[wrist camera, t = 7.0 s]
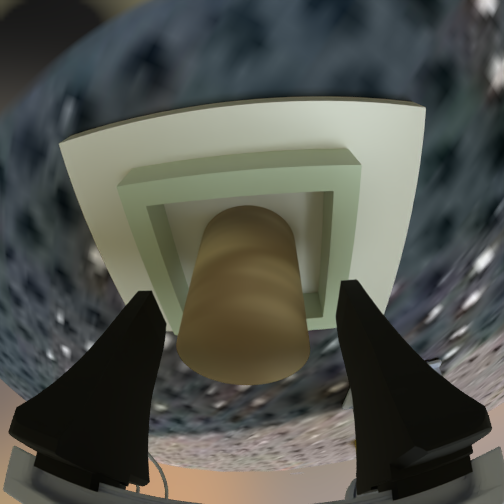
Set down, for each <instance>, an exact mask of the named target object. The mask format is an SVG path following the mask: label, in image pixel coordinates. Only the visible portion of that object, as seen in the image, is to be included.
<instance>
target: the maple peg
mask: <svg viewBox="0 0 504 504" xmlns="http://www.w3.org/2000/svg"><path fill="white" fill-rule="evenodd" d="M176 347H177V352H178V354H179V356H180V358H181V359H182V361H183V362H184V363H185V364H186V365H187V366H188V367H189V368H191V369H192V370H193V371H195V372H197V373H198V374H200V375H202V376H204V377H207V378H209V379H212V380H215V381H219V382H223V383H229V384H236V385H258V384H266V383H271V382H275V381H278V380H281V379H284V378H286V377H289V376H290V375H292V374H294V373H295V372H297V371H298V370H300V369H301V368H302V367H303V366H304V364H305V363H306V362H307V360H308V358H309V355H310V344H309V335H308V328H307V320H306V312H305V305H304V298H303V291H302V284H301V277H300V270H299V264H298V257H297V251H296V245H295V239H294V234H293V232H292V229H291V228H290V226H289V225H288V223H287V222H286V221H285V220H284V219H283V218H282V217H281V216H279V215H278V214H277V213H275V212H273V211H271V210H269V209H266V208H263V207H259V206H252V205H243V206H236V207H232V208H229V209H226V210H224V211H222V212H220V213H219V214H217V215H216V216H215V217H214V218H213V219H211V221H210V222H209V223H208V225H207V226H206V228H205V230H204V233H203V236H202V240H201V244H200V247H199V251H198V255H197V259H196V263H195V267H194V270H193V274H192V278H191V282H190V286H189V291H188V295H187V299H186V303H185V307H184V311H183V316H182V320H181V324H180V329H179V333H178V338H177V343H176Z"/></svg>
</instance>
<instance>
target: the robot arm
mask: <svg viewBox="0 0 504 504" xmlns="http://www.w3.org/2000/svg"><path fill="white" fill-rule="evenodd" d="M335 317H336V325H337V332H338V339H339V343H340V347H341V351H342V356H343V360H344V364H345V368H346V372H347V376H348V380H349V384H350V389H349V391H348V394H347V396H346V398H345V401H344V403H343V405H342V409H344V410H347V409H353V413H354V420H355V434H356V458H357V471H356V477H357V478H356V479H354V480H353V481H352V482H351V484H350V486H349V487H348V489H347V491H346V495H345V500H339V501H332V502H325V503H317V504H504V460H503V456H502V451H501V448H500V447H497V448H495V449H494V450H491V451H489V452H487V453H486V454H483V455H481V456H479V457H477V458H475V459H473V460H470V454H472V453H473V449H472V444H474V443H475V442H477V441H478V440H480V439H481V438H483V437H484V436H486V435H487V434H488V433H489V432H491V430H492V427H491V423H490V419H489V415H488V413H487V410H486V408H485V406H484V405H482V404H481V403H479V402H477V401H476V400H474V399H473V398H471V397H469V396H468V395H466V394H465V393H463V392H462V391H460V390H459V389H458V388H456V387H455V386H454V385H452V384H451V383H450V382H449V381H447V380H446V379H445V378H444V377H443V376H442V375H441V372H440V369H439V366H440V365H441V360H434V361H430V362H425V361H424V360H423V359H422V358H421V357H420V356H419V355H418V354H417V353H416V352H415V351H414V350H413V349H412V348H411V347H410V345H409V344H408V343H407V342H406V341H405V340H404V339H403V338H402V337H401V335H400V334H399V333H398V332H397V331H396V330H395V328H394V327H393V326H392V325H391V324H390V322H389V321H388V320H387V319H386V317H385V316H384V315H383V314H382V312H381V311H380V310H379V308H378V307H377V306H376V304H375V303H374V302H373V300H372V299H371V298H370V296H369V295H368V294H367V292H366V291H365V289H364V288H363V287H362V285H361V284H360V282H359V281H358V280H357V279H354V280H341V284H340V290H339V297H338V303H337V310H336V316H335ZM166 325H167V323H166V321H165V319H164V317H163V315H162V313H161V310H160V308H159V306H158V304H157V301H156V299H155V297H154V295H153V292H152V290H151V291H138V292H137V293H136V294H135V295H134V296H133V298H132V299H131V300H130V301H129V302H128V304H127V305H126V306H125V307H124V309H123V310H122V311H121V312H120V314H119V315H118V316H117V317H116V319H115V320H114V321H113V322H112V323H111V325H110V326H109V327H108V328H107V330H106V331H105V332H104V333H103V334H102V335H101V337H100V338H99V339H98V340H97V341H96V342H95V343H94V345H93V346H92V347H91V348H90V349H89V350H88V351H87V352H86V353H85V355H84V356H83V357H82V358H81V359H80V360H79V361H78V362H77V363H75V364H74V365H73V366H72V367H71V368H70V369H69V370H68V371H67V372H66V373H64V374H63V375H62V376H61V377H60V378H59V379H57V380H56V381H55V382H54V383H53V384H51V385H50V386H49V387H47V388H46V389H45V390H43V391H42V392H40V393H39V394H38V395H36V396H35V397H33V398H31V399H30V400H28V401H27V402H25V403H23V404H22V405H20V406H18V407H17V408H16V410H15V413H14V416H13V419H12V423H11V425H10V429H9V434H10V435H11V436H12V437H14V438H15V439H17V440H18V441H20V442H22V443H23V444H25V445H26V446H28V447H30V448H32V449H33V450H35V451H37V455H36V456H34V455H32V454H30V453H28V452H26V451H24V450H22V449H20V448H18V447H16V446H14V447H13V449H12V453H11V457H10V461H9V465H8V469H7V473H6V478H5V483H4V488H3V490H4V492H6V493H7V494H9V495H10V496H12V497H13V498H15V499H16V500H18V501H19V502H21V503H22V504H200V503H192V502H184V501H177V500H171V499H165V498H160V497H155V496H150V495H145V494H140V493H136V492H132V491H128V490H124V489H120V488H119V487H120V485H124V486H128V485H129V483H131V484H134V485H139V486H145V485H147V484H148V483H149V482H150V480H149V466H148V433H149V417H150V407H151V399H152V394H153V389H154V385H155V381H156V377H157V373H158V369H159V365H160V360H161V356H162V352H163V348H164V342H165V334H166Z"/></svg>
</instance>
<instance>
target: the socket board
mask: <svg viewBox="0 0 504 504" xmlns="http://www.w3.org/2000/svg"><path fill="white" fill-rule="evenodd" d="M425 113H426V107H423V106H421V105H419V104H417V103H414V102H409V101H400V100H390V99H378V98H362V97H332V96H309V97H279V98H263V99H250V100H239V101H230V102H221V103H213V104H206V105H199V106H193V107H187V108H181V109H175V110H170V111H164V112H159V113H154V114H150V115H145V116H141V117H136V118H132V119H128V120H124V121H120V122H116V123H112V124H108V125H105V126H101V127H98V128H94V129H91V130H87V131H84V132H81V133H78V134H75V135H72V136H70V137H68V138H67V139H65V140H64V141H62V142H61V143H59V146H60V149H61V152H62V156H63V159H64V162H65V165H66V168H67V171H68V174H69V177H70V180H71V183H72V186H73V188H74V191H75V194H76V197H77V199H78V202H79V204H80V207H81V210H82V212H83V215H84V217H85V220H86V222H87V224H88V227H89V229H90V232H91V234H92V236H93V239H94V241H95V243H96V245H97V248H98V250H99V252H100V254H101V257H102V259H103V261H104V263H105V265H106V267H107V269H108V271H109V273H110V275H111V277H112V280H113V282H114V284H115V286H116V287H117V289H118V291H119V293H120V295H121V297H122V299H123V301H124V303H125V305H127V304H128V302H129V301H130V300H131V299H132V298H133V296H134V295H135V294H136V293H137V292H138V291H151V290H152V292H153V295H154V297H155V299H156V301H157V304H158V306H159V308H160V310H161V313H162V315H163V317H164V319H165V321H166V323H167V325H166V331H173V333H174V335H178V333H179V329H180V324H181V320H182V316H183V311H184V307H185V303H186V299H187V295H188V291H189V286H190V282H191V278H192V274H193V270H194V267H195V263H196V259H197V255H198V251H199V247H200V244H201V240H202V236H203V233H204V230H205V228H206V226H207V225H208V223H209V222H210V221H211V219H213V218H214V217H215V216H216V215H217V214H219V213H220V212H222V211H224V210H226V209H229V208H232V207H236V206H243V205H252V206H259V207H263V208H266V209H269V210H271V211H273V212H275V213H277V214H278V215H279V216H281V217H282V218H283V219H284V220H285V221H286V222H287V223H288V225H289V226H290V228H291V229H292V232H293V234H294V239H295V245H296V251H297V257H298V264H299V270H300V277H301V284H302V291H303V298H304V305H305V312H306V320H307V328H308V330H318V329H329V328H337V325H336V317H335V316H336V310H337V303H338V297H339V290H340V284H341V280H354V279H357V280H358V281H359V282H360V284H361V285H362V287H363V288H364V289H365V291H366V292H367V294H368V295H369V296H370V298H371V299H372V300H373V302H374V303H375V304H376V306H377V307H378V308H379V310H380V311H381V312H382V314H383V315H384V312H385V309H386V306H387V303H388V300H389V297H390V294H391V290H392V287H393V284H394V280H395V277H396V274H397V270H398V266H399V263H400V259H401V255H402V251H403V247H404V243H405V239H406V235H407V231H408V226H409V222H410V217H411V212H412V207H413V202H414V197H415V191H416V186H417V180H418V173H419V167H420V160H421V152H422V144H423V135H424V125H425Z"/></svg>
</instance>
